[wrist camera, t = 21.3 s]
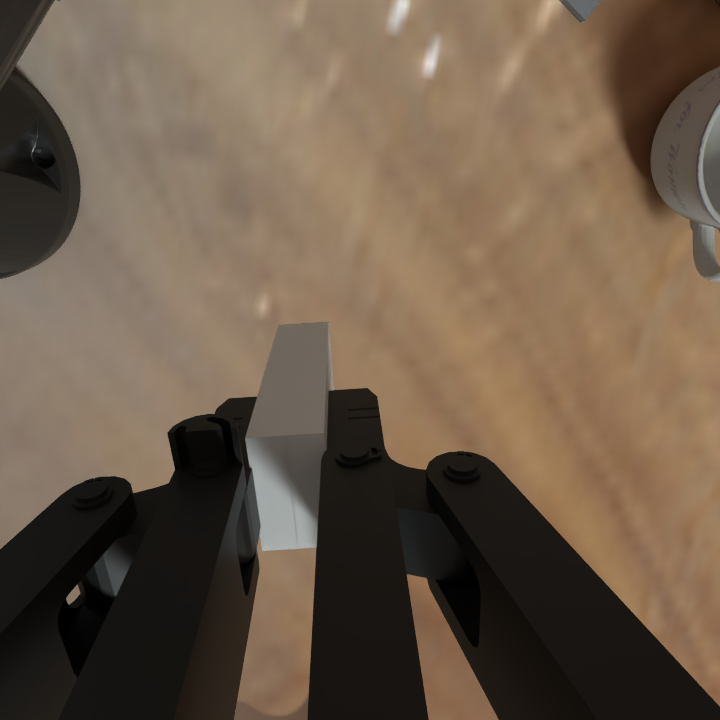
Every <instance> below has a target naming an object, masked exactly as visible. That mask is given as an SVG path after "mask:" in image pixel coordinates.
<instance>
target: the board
mask: <svg viewBox="0 0 720 720" xmlns="http://www.w3.org/2000/svg"><path fill="white" fill-rule="evenodd" d="M560 1H561V3H562V4H563V5H564V6H565V7H566V8H567V9H568V10H569V11H570V12H571V13H572V14H573V15H574V16H575V17H576V18H577V19H578V20H579V21H580V22H582V21H585V20H586V19H587V18H588V16H589V15H590V14H591V13H592V11H593V10H594V9H595V8H596V6H597V5H598V4H599V3H600V1H601V0H560Z"/></svg>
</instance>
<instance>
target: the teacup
mask: <svg viewBox="0 0 720 720" xmlns="http://www.w3.org/2000/svg"><path fill="white" fill-rule="evenodd" d="M651 173H652V178H653V181H654V185H655V187H656V189H657V191H658V193H659V195H660V196H661V198H662V199H663V201H664V202H665V203H666V204H667V205H668V206H669V207H670V208H671V209H672V210H673V211H675V212H676V213H678V214H679V215H681V216H683V217H685V218H687V219H689V220H690V226H691V229H692V231H693V255H694V261H695V265H696V268H697V270H698V272H699V273H700V275H701V276H703V277H704V278H706V279H708V280H710V281H716V282H720V266H719V265H718V263H717V260H716V256H715V248H714V233H715V228H717V229H718V230H719V232H720V67H717V68H715V69H713V70H711V71H709V72H707V73H705V74H704V75H702V76H700V77H699V78H697V79H696V80H695V81H693V82H692V83H691V84H689V85H688V86H687V87H686V88H685V89H684V90H683V91H682V92H681V93H680V94H679V95H678V96H677V97H676V98H675V99H674V101H673V102H672V103H671V105H670V106H669V107H668V109H667V110H666V112H665V113H664V115H663V117H662V119H661V121H660V123H659V125H658V128H657V130H656V133H655V136H654V139H653V144H652V150H651Z"/></svg>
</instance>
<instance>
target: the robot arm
mask: <svg viewBox="0 0 720 720" xmlns="http://www.w3.org/2000/svg"><path fill="white" fill-rule="evenodd" d="M58 1H60V0H58ZM53 2H54V0H0V279H2V278H7V277H10V276H13V275H16V274H18V273H21V272H23V271H25V270H28V269H30V268H32V267H34V266H36V265H38V264H40V263H42V262H43V261H45V260H46V259H48V258H49V257H50V256H51V255H53V254H54V253H55V252H56V251H57V250H58V249H59V248H60V247H61V245H62V244H63V243H64V241H65V240H66V238H67V237H68V235H69V233H70V232H71V230H72V228H73V225H74V223H75V220H76V217H77V213H78V209H79V202H80V176H79V169H78V164H77V160H76V156H75V153H74V150H73V147H72V144H71V142H70V140H69V137H68V135H67V133H66V131H65V129H64V127H63V125H62V124H61V122H60V120H59V119H58V117H57V115H56V114H55V113H54V111H53V110H52V108H51V107H50V106H49V105H48V103H47V102H46V101H45V100H44V98H43V97H42V96H41V95H40V94H39V93H38V92H37V91H36V90H35V89H34V88H33V87H32V86H31V85H30V84H29V83H28V82H27V81H25V80H24V79H23V78H22V77H20V76H19V75H18V74H17V73H15V72H14V71H12V70H13V69H14V67H15V65H16V64H17V62H18V60H19V59H20V57H21V55H22V54H23V52H24V50H25V49H26V47H27V45H28V44H29V42H30V40H31V39H32V37H33V35H34V34H35V32H36V30H37V29H38V27H39V25H40V24H41V22H42V20H43V19H44V17H45V15H46V14H47V12H48V10H49V9H50V7H51V5H52V4H53ZM168 438H169V443H170V447H171V452H172V457H173V461H174V466H175V471H174V473H173V475H172V478H171V480H170V482H169V483H168V484H166V485H162V486H159V487H156V488H153V489H149V490H145V491H141V492H137V493H133V491H132V487H131V484H130V483H129V482H128V481H127V480H126V479H124V478H120V477H115V476H111V477H97V478H95V479H93V478H92V479H89V480H86V481H84V482H82V483H80V484H78V485H76V486H73V487H72V488H70V489H69V490H68V491H66V492H65V493H63V494H62V495H61V496H60V497H58V498H57V499H56V500H55V501H54V502H53V503H52V504H51V505H50V506H48V507H47V508H46V509H45V510H44V511H43V512H42V513H41V514H39V515H38V516H37V517H36V518H35V519H34V520H33V521H32V522H30V523H29V524H28V525H27V526H26V527H25V528H24V529H23V530H22V531H20V532H19V533H18V534H17V535H16V536H15V537H14V538H13V539H11V540H10V541H9V542H8V543H7V544H6V545H5V546H4V547H2V548H1V549H0V720H234V715H235V709H236V703H237V697H238V691H239V685H240V680H241V674H242V668H243V662H244V656H245V651H246V645H247V639H248V633H249V627H250V621H251V616H252V610H253V604H254V598H255V592H256V586H257V581H258V575H259V560H258V554H257V544H258V538H259V533H260V539H261V545H262V551H270V550H285V549H299V548H314V547H317V549H316V568H315V587H314V607H313V626H312V645H311V664H310V683H309V702H308V720H429V719H428V713H427V706H426V700H425V693H424V687H423V680H422V673H421V667H420V660H419V654H418V647H417V640H416V634H415V627H414V621H413V614H412V608H411V601H410V594H409V588H408V581H407V575H406V574H410V575H415V576H420V577H425V578H427V580H428V584H429V588H430V590H431V592H432V594H433V596H434V598H435V600H436V601H437V603H438V605H439V607H440V609H441V611H442V613H443V615H444V617H445V619H446V620H447V622H448V624H449V626H450V628H451V630H452V632H453V634H454V636H455V638H456V639H457V641H458V643H459V645H460V647H461V649H462V651H463V653H464V655H465V656H466V658H467V660H468V662H469V664H470V666H471V668H472V670H473V672H474V674H475V675H476V677H477V679H478V681H479V683H480V685H481V687H482V689H483V691H484V693H485V694H486V696H487V698H488V700H489V702H490V704H491V706H492V708H493V710H494V711H495V713H496V715H497V717H498V719H499V720H720V707H719V705H718V704H717V703H716V702H715V701H714V700H713V699H712V698H711V697H710V696H709V695H708V694H707V693H706V691H705V690H704V689H703V688H702V687H701V686H700V685H699V684H698V683H697V682H696V681H695V680H694V678H693V677H692V676H691V675H690V674H689V673H688V672H687V671H686V670H685V669H684V668H683V667H682V666H681V664H680V663H679V662H678V661H677V660H676V659H675V658H674V657H673V656H672V655H671V654H670V653H669V652H668V650H667V649H666V648H665V647H664V646H663V645H662V644H661V643H660V642H659V641H658V640H657V639H656V637H655V636H654V635H653V634H652V633H651V632H650V631H649V630H648V629H647V628H646V627H645V626H644V625H643V623H642V622H641V621H640V620H639V619H638V618H637V617H636V616H635V615H634V614H633V613H632V612H631V610H630V609H629V608H628V607H627V606H626V605H625V604H624V603H623V602H622V601H621V600H620V599H619V598H618V596H617V595H616V594H615V593H614V592H613V591H612V590H611V589H610V588H609V587H608V586H607V585H606V583H605V582H604V581H603V580H602V579H601V578H600V577H599V576H598V575H597V574H596V573H595V572H594V571H593V569H592V568H591V567H590V566H589V565H588V564H587V563H586V562H585V561H584V560H583V559H582V558H581V557H580V555H579V554H578V553H577V552H576V551H575V550H574V549H573V548H572V547H571V546H570V545H569V544H568V542H567V541H566V540H565V539H564V538H563V537H562V536H561V535H560V534H559V533H558V532H557V531H556V530H555V528H554V527H553V526H552V525H551V524H550V523H549V522H548V521H547V520H546V519H545V518H544V517H543V515H542V514H541V513H540V512H539V511H538V510H537V509H536V508H535V507H534V506H533V505H532V504H531V503H530V501H529V500H528V499H527V498H526V497H525V496H524V495H523V494H522V493H521V492H520V491H519V490H518V488H517V487H516V486H515V485H514V484H513V483H512V482H511V481H510V480H509V479H508V478H507V477H506V476H505V474H504V473H503V472H502V471H501V470H500V469H499V468H498V467H497V466H496V465H495V464H494V463H493V462H492V461H490V460H489V459H487V458H486V457H484V456H481V455H478V454H475V453H471V452H465V451H457V452H447V453H444V454H442V455H439V456H436V457H435V458H434V459H432V460H431V461H430V462H429V464H428V466H427V469H426V470H422V469H415V468H411V467H406V466H404V465H401V464H398V463H397V462H395V461H394V460H392V459H391V458H390V457H389V456H388V453H387V452H386V450H385V446H384V440H383V433H382V426H381V420H380V413H379V406H378V400H377V396H376V395H375V394H374V393H372V392H371V391H370V390H369V389H368V388H362V389H346V390H334V385H333V372H332V359H331V346H330V334H329V322H318V323H302V324H286V325H278V329H277V332H276V335H275V339H274V342H273V346H272V349H271V352H270V356H269V359H268V362H267V366H266V369H265V373H264V376H263V379H262V383H261V386H260V390H259V393H258V396H257V397H244V398H229V399H228V400H227V401H225V402H224V403H223V404H222V405H220V406H219V407H218V408H217V409H216V412H215V414H206V415H200V416H195V417H192V418H189V419H186V420H183V421H182V422H180V423H178V424H176V425H175V426H173V427H172V428H171V429H170V431H169V432H168ZM77 584H78V587H79V590H80V593H81V594H80V595H79V596H78V597H77V598H76V600H75V601H74V602H72V603H71V604H70V605H68V603H67V601H66V597H67V596H68V594H69V593H70V592H71V591H72V590H73V589H74V587H75V586H76V585H77Z"/></svg>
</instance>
